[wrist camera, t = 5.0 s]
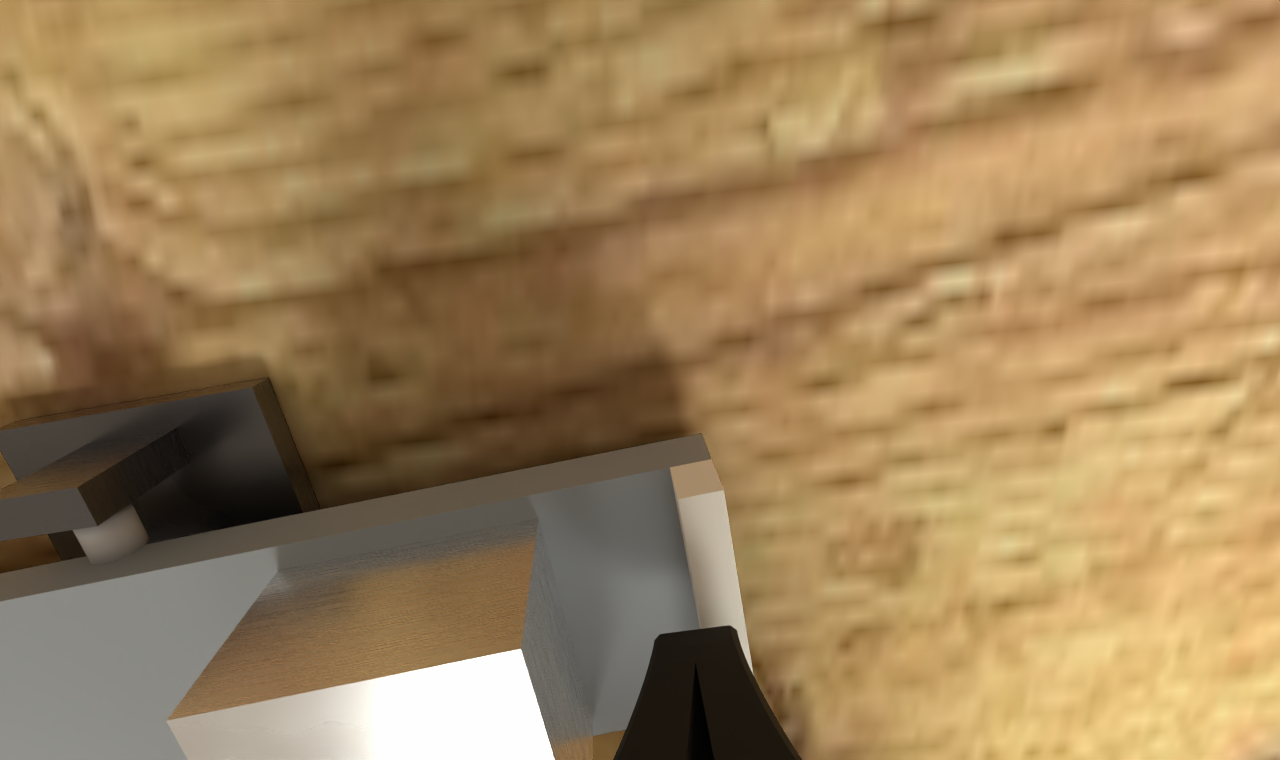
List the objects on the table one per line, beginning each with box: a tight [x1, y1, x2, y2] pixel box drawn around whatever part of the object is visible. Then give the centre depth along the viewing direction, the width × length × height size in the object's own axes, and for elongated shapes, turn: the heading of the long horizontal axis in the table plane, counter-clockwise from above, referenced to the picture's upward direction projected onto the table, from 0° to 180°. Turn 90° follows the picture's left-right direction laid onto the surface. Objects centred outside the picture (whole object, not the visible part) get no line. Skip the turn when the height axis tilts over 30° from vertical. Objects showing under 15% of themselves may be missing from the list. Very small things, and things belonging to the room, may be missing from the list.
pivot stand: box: [0, 378, 321, 561], centre depth 15 cm, size 6×11×3 cm, turn 10°
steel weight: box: [166, 518, 593, 760], centre depth 12 cm, size 5×5×4 cm
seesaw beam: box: [0, 434, 753, 760], centre depth 14 cm, size 24×8×3 cm, turn 101°
